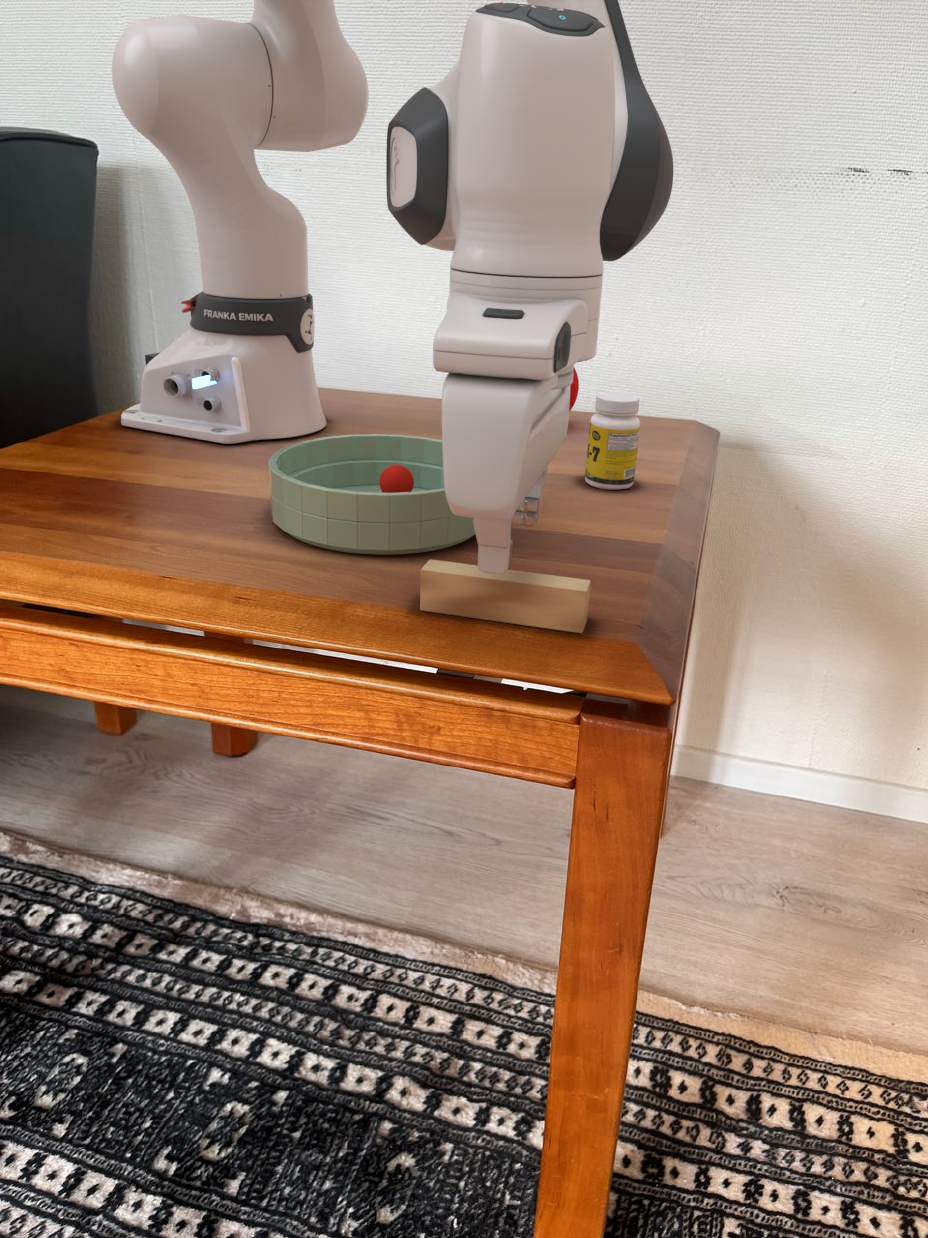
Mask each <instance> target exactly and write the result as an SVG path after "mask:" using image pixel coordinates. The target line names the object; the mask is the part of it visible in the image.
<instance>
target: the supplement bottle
mask: <svg viewBox="0 0 928 1238" xmlns="http://www.w3.org/2000/svg"><path fill="white" fill-rule="evenodd" d="M639 406H640V398H639V397H638V396H637V395H634V394H630V393H624V392H616V391H614V392H613V391H608V392H607V391H605V392H599V393H597V394H596V397H595V404H594V410H595V412H596V413H594V414H593V415H592V416H591V418H590V420H589V431H588V439H587V440H588V441H587V449H586V450H587V451H586V459H585V460H586V461H585V471H584V473H585V474H584V480H585V483H587V484H588V485H590V486H591V487H594V488H597V489H602V490H613V491H614V490H625V489H630V488H631V487H632V486H634V483H635V475H636V469H637V468H636V467H637V459H638V451H639V442H640V433H641V420H640V418H638V417H637V416H636V415H637V414H638V413H639Z"/></svg>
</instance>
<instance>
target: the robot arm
mask: <svg viewBox="0 0 928 1238" xmlns="http://www.w3.org/2000/svg"><path fill="white" fill-rule="evenodd" d="M525 2H526V3H527V4H526V3H525V4H524V3H517V2H516V3H514V2H503V1H501V2H492V3H488V4H484V6H482V7H479V8H476V9H475V10H473V11H472V13H471V14H470V15H469V16H468V18H467V20H466V24H465V27H464V32H463V38H462V43H461V48H460V53H459V56H458V60H457V61H456V62H455V64H454V66H453V67H451V69H450V70H449V72H447V74H445V76H443V78H442V79H440V80H439V81H438V82H437V83H436V84H434V85H433V86H431V87H426V86H425V87H422V88H420V89H419V90H417V91H416V92H415V93H414V94H413V95H412V96H411V97H410V98H409V99H408V100H407V101H406V102H405V103H403V105H402V106H401V107H400V108H399V110H398V111H397V112H396V113H395V115H394V116H393V117H392V119H391V120H390V121H389V122H388V125H387V132H386V162H385V163H386V164H385V165H386V166H385V167H386V168H385V169H386V171H385V173H386V174H385V175H386V178H385V179H386V183H385V185H386V203H387V209H388V211H389V212H390V214H391V216H392V217H393V218H394V219H395V220H396V222H397V223H398V224H399V225H400V227H401V228H402V230H404V232H405V233H406V234H408V236H410V238H412V239H413V240H414V242H415V243H417V244H419V245H420V246H426V247H429V248H432V249H436V250H438V251H439V250H440V251H444V252H452V256H451V259H450V266H449V292H448V293H449V294H448V297H447V300H446V301H447V302H446V311H445V314H444V316H443V318H442V320H441V322H440V323H439V326H438V327H437V329H436V331H435V332H434V336H433V343H432V349H433V350H432V364H433V365H432V366H433V368H434V370H435V371H436V372H439V373H447V374H446V376H445V378H444V381H443V385H442V392H441V440H442V450H443V473H444V488H445V494H446V498H447V502H448V505H449V507H450V510H451V512H452V513H453V514H455V515H457V516H462V517H470V518H473V525H474V529H475V537H476V542H477V546H478V547H477V566H478V568H479V570H480V571H482V572H483V573H489V574H497V575H502V574H504V573H505V572H506V571H507V569H508V570H509V567H510V565H511V563H512V561H513V555H512V554H513V543H514V540H513V539H512V537H511V536H512V534H511V533H512V525H515V526H524V527H533V526H534V525H535V524H536V523H537V521H538V520H539V518H540V516H541V506H542V495H543V492H544V488H545V484H546V483H545V482H546V478H547V474H548V469H549V465H550V463H551V462H552V460H553V459H554V457H555V456H556V454H558V451H559V450H560V449H561V448H562V446H563V444H564V443H565V441H566V438H567V434H568V429H569V423H570V422H569V421H570V412H569V405H570V385H571V384H572V382H573V369H574V368H575V364H576V363H582V362H586V361H591V360H592V359H593V358H595V357H596V356H597V351H598V337H599V326H600V315H601V304H602V302H601V301H602V292H603V282H604V281H603V280H604V270H605V269H604V266H605V265H604V262H615V261H618V260H619V259H622V258H623V257H624V256H626V255H627V254H629V253H630V252H631V251H632V250H633V249H634V248H636V247H637V246H638V245H639V244H640V243H641V242H642V241H644V239H645V238H646V237H647V236H648V235H649V234H650V233H651V231H652V230H653V229H654V228H655V227H656V225H657V224H658V223H659V221H660V219H662V216H663V215H664V213H665V211H666V210H667V208H668V205H669V202H670V200H671V199H670V198H671V195H672V190H673V185H674V183H673V182H674V157H673V152H672V151H673V150H672V147H671V142H670V139H669V136H668V134H667V133H668V132H667V130H666V128H665V125H664V122H663V121H662V118H661V116H660V113H659V112H658V109H657V107H656V106H655V104H654V102H653V100H652V98H651V96H650V94H649V92H648V90H647V89H646V85H645V83H644V81H643V78H642V75H641V74H640V73H641V72H640V71H639V68H638V64H637V60H636V57H635V55H634V51H633V47H632V43H631V41H630V36H629V33H628V29H627V26H626V22H625V20H624V16H623V13H622V10H621V6H620V3H619V0H525ZM252 11H253V13H252V16H251V19H250V21H249V22H247V21H246V22H239V21H231V20H223V19H216V18H215V19H214V18H206V17H199V16H190V15H182V14H180V15H169V16H157V17H151V18H144V19H137V20H133V21H131V22H130V23H129V24H128V26H126V28H125V29H124V30H123V32H122V33H121V35H120V36H119V39H118V41H117V42H116V44H115V47H114V51H113V56H112V61H111V62H112V63H111V80H112V86H113V91H114V95H115V97H116V100H117V102H118V105H119V107H120V110H121V111H122V112H123V114H124V116H125V117H126V119H127V121H128V122H129V123H130V125H131V126H132V127H133V128H134V129H135V130H136V131H137V133H139V134H140V135H141V136H143V137H144V138H145V139H147V141H149V142H150V143H151V144H152V145H153V146H154V147H155V148H156V149H157V150H158V151H159V152H160V153H161V154H162V155H163V157H164V158H165V159H166V160H167V162H168V163H169V164H170V166H171V168H173V170H174V172H175V173H176V175H177V177H178V178H179V180H180V182H181V185H182V186H183V188H184V190H185V193H186V195H187V198H188V200H189V204H190V207H191V209H192V214H193V216H194V221H195V227H196V234H197V235H196V236H197V241H198V250H199V260H200V267H201V279H202V280H201V281H202V291H201V292H199V293H196V294H195V295H194V296H192V297H191V298H190V299H186V300H182V301H181V302H180V304H181V305H185V307H183V308H182V309H181V313H182V314H184V313H189V312H190V321H189V326H190V327H189V328H188V329H187V330H185V331H183V333H182V334H181V335H179V336H178V337H177V338H176V339H175V340H173V341H172V342H171V343H170V344H168V345H167V346H166V347H165V348H164V349H163V350H162V351H160V352H154V353H149V354H145V355H144V360H145V367H144V370H143V372H142V376H141V381H140V382H141V384H140V402H138V403H137V404H134V405H132V406H130V407H129V408H126V409H125V410H123V412H122V413H121V415H120V423H121V426H123V427H128V428H133V429H139V430H146V431H150V432H155V433H162V434H168V435H174V436H177V437H178V436H179V437H184V438H190V439H195V440H200V441H206V442H211V443H219V444H227V445H228V444H239V443H246V442H252V441H259V440H277V439H287V438H294V437H301V436H305V435H309V434H313V433H316V432H318V431H321V430H323V429H324V428H325V427H326V426H327V424H328V422H327V420H326V417H325V413H324V409H323V407H322V403H321V399H320V395H319V389H318V383H317V379H316V373H315V364H314V357H313V349H314V346H315V345H314V343H315V332H316V331H315V330H316V329H315V328H316V327H315V324H316V323H315V314H314V299H313V297H314V296H313V295H312V294H311V293H310V291H309V253H308V252H309V251H308V227H307V222H306V219H305V218H304V216H303V214H302V213H301V211H300V210H299V208H298V207H297V206H296V204H295V203H294V202H292V201H291V200H290V199H289V198H287V197H286V196H284V194H281V193H280V192H279V191H276V190H275V189H273V188H271V187H270V186H269V185H267V183H266V181H265V180H264V178H263V176H262V174H261V172H260V170H259V168H258V164H257V160H256V156H255V150H256V151H257V150H259V151H280V152H297V153H298V152H300V153H303V152H304V153H311V152H317V151H323V150H329V149H332V148H336V147H341V146H345V145H348V144H349V143H351V142H353V140H354V139H355V138H356V136H357V135H358V134H359V132H360V131H361V129H362V127H363V125H364V123H365V120H366V117H367V113H368V109H369V99H370V95H369V93H370V91H369V83H368V78H367V74H366V72H365V68H364V66H363V63H362V61H361V60H360V58H359V56H358V54H357V53H356V52H355V50H354V49H353V48H352V46H350V44H349V43H348V41H347V39H346V38H345V36H344V34H343V32H342V29H341V26H340V24H339V20H338V18H337V12H336V8H335V1H334V0H253V10H252Z"/></svg>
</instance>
